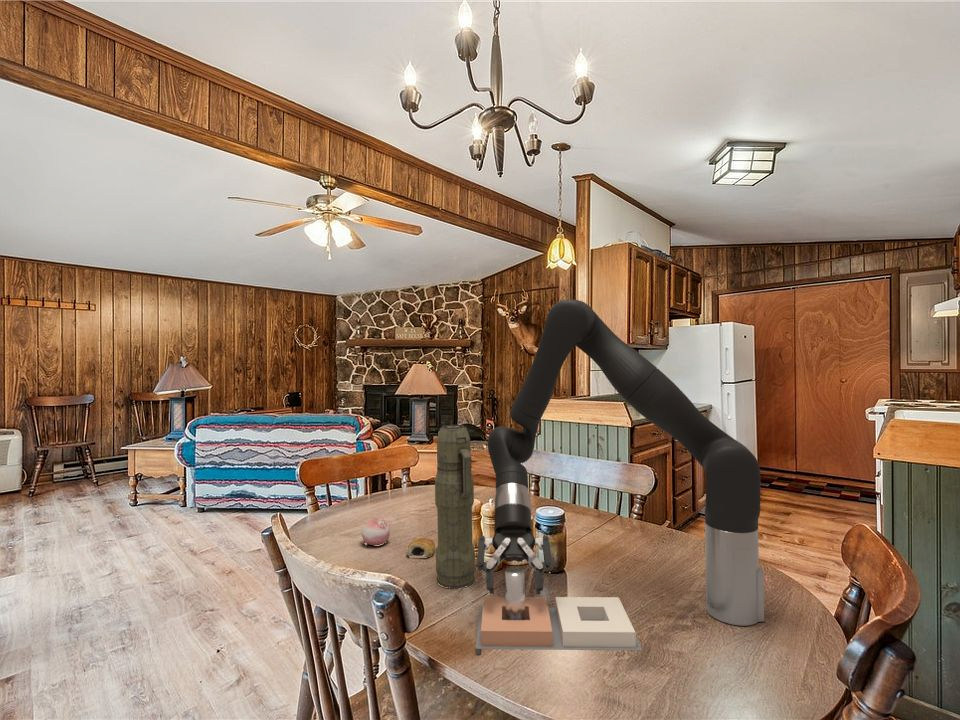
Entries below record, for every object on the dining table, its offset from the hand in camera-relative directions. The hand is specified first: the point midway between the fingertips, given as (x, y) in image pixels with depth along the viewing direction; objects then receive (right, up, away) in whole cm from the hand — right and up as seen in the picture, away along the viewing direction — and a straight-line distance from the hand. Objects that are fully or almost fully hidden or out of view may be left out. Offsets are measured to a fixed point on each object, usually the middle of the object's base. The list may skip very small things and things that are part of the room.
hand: (515, 592), depth 91 cm
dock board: (+7, -7, 0) cm, 10 cm away
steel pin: (0, -6, 0) cm, 6 cm away
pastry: (-22, -8, +38) cm, 44 cm away
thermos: (-12, -8, +22) cm, 26 cm away
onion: (-35, -8, +45) cm, 57 cm away
